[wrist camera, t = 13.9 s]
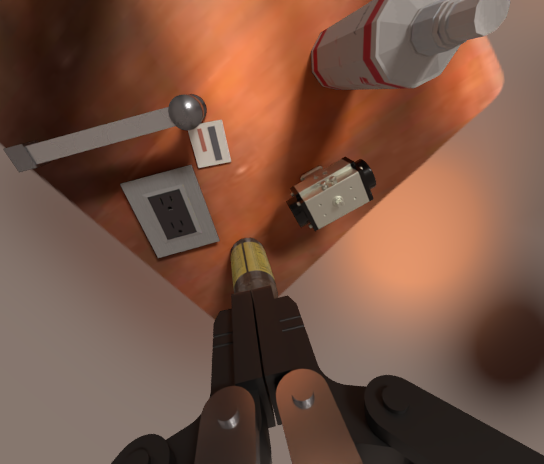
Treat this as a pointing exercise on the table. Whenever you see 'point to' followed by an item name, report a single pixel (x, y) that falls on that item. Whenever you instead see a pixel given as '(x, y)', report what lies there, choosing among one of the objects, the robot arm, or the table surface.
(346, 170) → the pneumatic valve
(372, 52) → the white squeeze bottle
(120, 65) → the table surface
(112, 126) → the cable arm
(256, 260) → the sauce bottle
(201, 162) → the label plate
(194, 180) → the electrical outlet
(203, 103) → the arm post
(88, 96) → the table surface
